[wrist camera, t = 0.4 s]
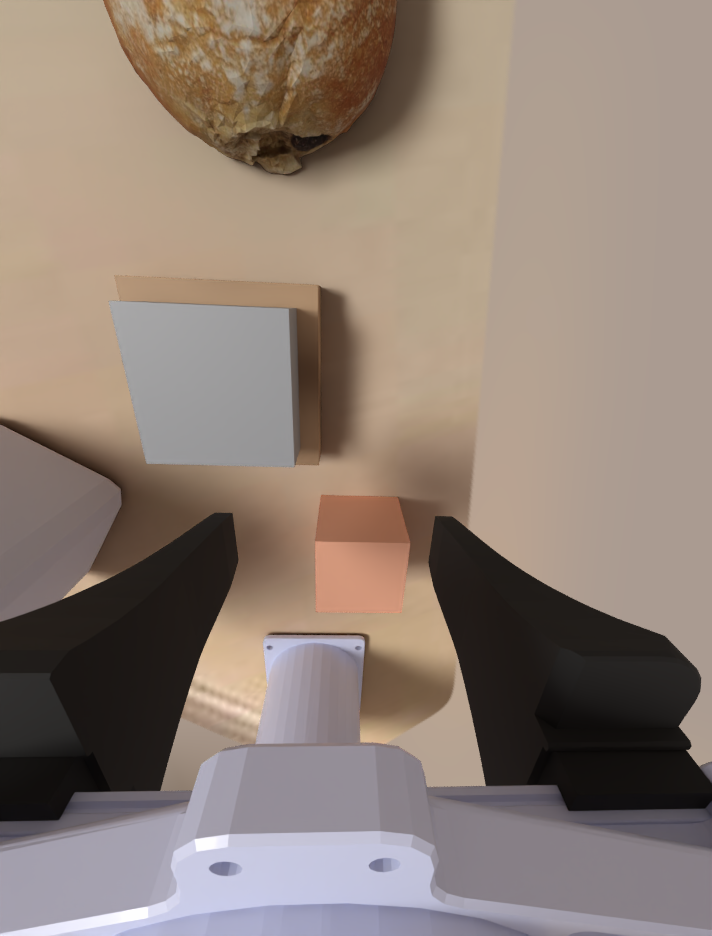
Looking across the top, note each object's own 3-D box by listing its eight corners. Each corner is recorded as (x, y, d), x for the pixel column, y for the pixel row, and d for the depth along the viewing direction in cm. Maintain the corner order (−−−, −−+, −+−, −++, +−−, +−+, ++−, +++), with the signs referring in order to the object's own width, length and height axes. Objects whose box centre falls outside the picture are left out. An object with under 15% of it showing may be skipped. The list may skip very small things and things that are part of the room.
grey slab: (300, 448, 19) (294, 467, 17) (170, 444, 19) (146, 463, 17) (296, 308, 16) (288, 308, 14) (141, 301, 16) (108, 300, 14)
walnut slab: (321, 448, 22) (318, 465, 20) (175, 444, 22) (155, 460, 19) (321, 287, 18) (318, 284, 16) (143, 279, 18) (114, 275, 16)
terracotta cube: (391, 557, 25) (401, 612, 21) (321, 556, 25) (315, 612, 20) (397, 496, 23) (410, 543, 18) (321, 494, 23) (315, 541, 18)
